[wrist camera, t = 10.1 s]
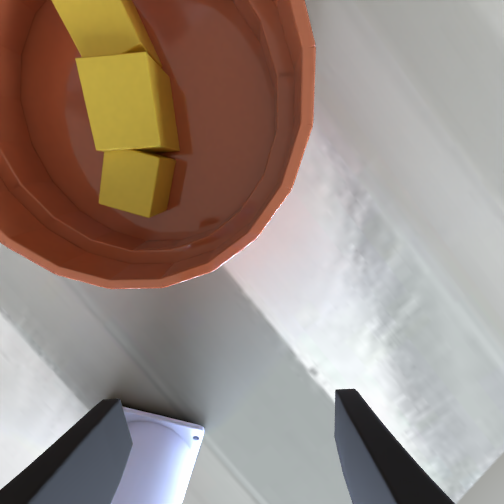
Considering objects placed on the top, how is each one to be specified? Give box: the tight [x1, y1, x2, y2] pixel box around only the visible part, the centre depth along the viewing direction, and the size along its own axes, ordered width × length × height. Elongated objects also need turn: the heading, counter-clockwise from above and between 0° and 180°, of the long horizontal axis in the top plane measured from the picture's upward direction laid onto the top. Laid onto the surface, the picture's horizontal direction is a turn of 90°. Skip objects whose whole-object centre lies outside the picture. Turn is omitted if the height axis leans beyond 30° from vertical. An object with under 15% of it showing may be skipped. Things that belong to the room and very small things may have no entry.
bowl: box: [0, 0, 316, 289], centre depth 12 cm, size 16×16×5 cm
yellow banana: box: [52, 0, 180, 218], centre depth 12 cm, size 10×4×3 cm, turn 4°
